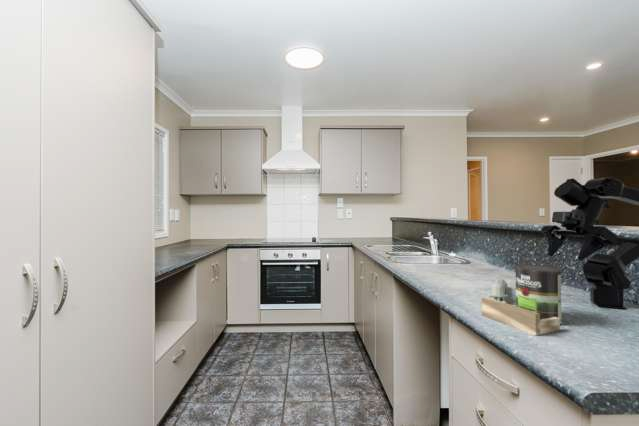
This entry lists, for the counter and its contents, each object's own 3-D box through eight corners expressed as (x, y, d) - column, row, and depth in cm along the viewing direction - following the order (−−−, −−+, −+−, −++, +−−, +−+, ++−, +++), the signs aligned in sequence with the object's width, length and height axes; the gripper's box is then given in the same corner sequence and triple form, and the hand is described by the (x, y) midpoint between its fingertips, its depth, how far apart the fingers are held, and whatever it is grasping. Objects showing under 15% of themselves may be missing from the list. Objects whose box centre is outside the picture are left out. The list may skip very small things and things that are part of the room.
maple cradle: (503, 311, 87) (503, 294, 87) (559, 330, 73) (559, 310, 73) (481, 315, 84) (481, 297, 84) (535, 335, 70) (535, 314, 70)
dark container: (545, 328, 74) (545, 272, 74) (506, 315, 84) (506, 265, 84) (571, 322, 78) (571, 269, 78) (531, 310, 88) (531, 263, 88)
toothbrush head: (508, 278, 113) (507, 282, 92) (508, 296, 112) (507, 304, 92) (492, 277, 116) (488, 280, 95) (492, 294, 115) (488, 302, 94)
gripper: (539, 202, 99) (518, 241, 98) (599, 197, 81) (574, 246, 79) (564, 219, 100) (543, 259, 99) (629, 219, 82) (605, 268, 80)
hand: (563, 257), depth 89 cm, fingers open, 9 cm apart
